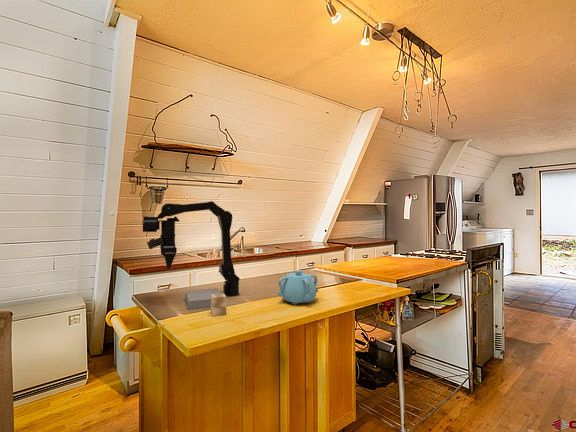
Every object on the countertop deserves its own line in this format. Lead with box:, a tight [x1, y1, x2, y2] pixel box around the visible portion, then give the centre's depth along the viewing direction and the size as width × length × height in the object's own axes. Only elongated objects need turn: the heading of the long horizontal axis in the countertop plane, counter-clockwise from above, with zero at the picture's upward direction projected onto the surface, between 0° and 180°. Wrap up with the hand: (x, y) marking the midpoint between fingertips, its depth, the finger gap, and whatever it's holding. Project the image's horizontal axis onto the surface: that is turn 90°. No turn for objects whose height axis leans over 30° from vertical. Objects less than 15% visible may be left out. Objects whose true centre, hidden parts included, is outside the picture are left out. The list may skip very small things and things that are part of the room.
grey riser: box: [184, 287, 222, 311], centre depth 137 cm, size 14×18×4 cm
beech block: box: [210, 292, 227, 317], centre depth 122 cm, size 5×5×7 cm
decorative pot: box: [277, 269, 319, 305], centre depth 140 cm, size 16×16×14 cm
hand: (168, 267), depth 140 cm, fingers open, 9 cm apart
